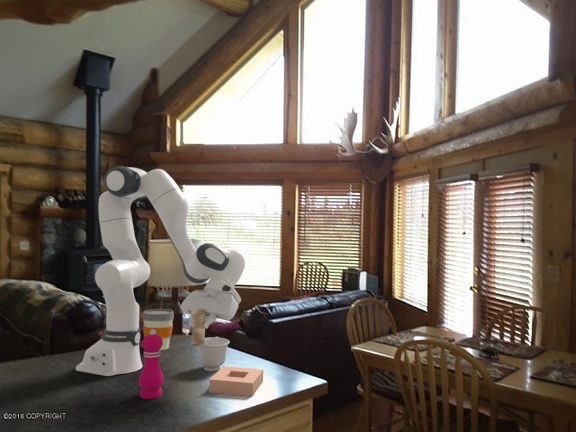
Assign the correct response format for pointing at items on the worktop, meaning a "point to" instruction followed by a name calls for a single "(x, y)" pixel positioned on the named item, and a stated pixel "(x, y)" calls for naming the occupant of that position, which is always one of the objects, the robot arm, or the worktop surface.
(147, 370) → the pepper mill
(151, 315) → the reusable coffee cup
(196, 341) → the maple pin
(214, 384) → the socket block
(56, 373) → the worktop surface
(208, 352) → the teacup
